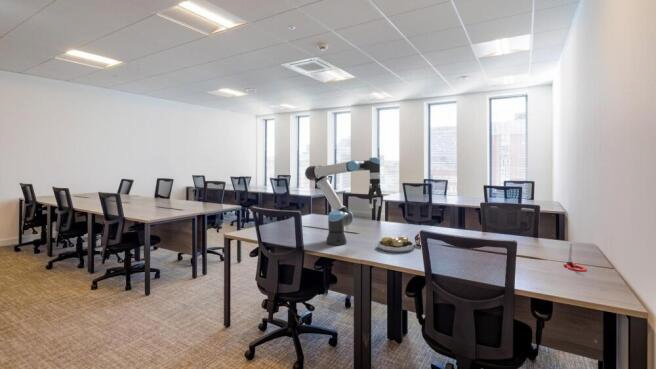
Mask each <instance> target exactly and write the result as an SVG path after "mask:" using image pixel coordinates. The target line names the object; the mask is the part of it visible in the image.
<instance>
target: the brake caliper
mask: <svg viewBox="0 0 656 369" xmlns="http://www.w3.org/2000/svg"><path fill="white" fill-rule="evenodd" d="M414 241H415V242H414V247H416V248H417V247H421V246H420V236H419V232H418V233H417V234H416V235H415V236H414Z"/></svg>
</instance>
